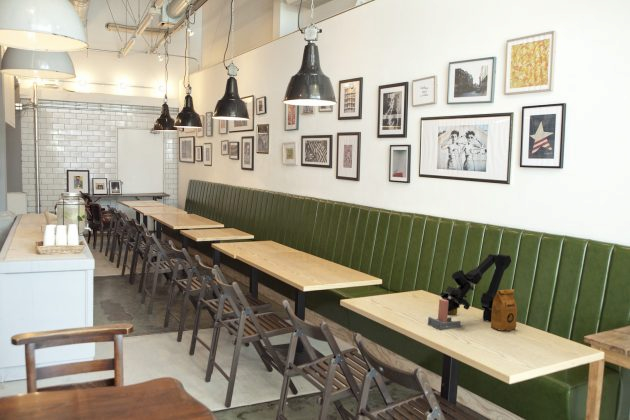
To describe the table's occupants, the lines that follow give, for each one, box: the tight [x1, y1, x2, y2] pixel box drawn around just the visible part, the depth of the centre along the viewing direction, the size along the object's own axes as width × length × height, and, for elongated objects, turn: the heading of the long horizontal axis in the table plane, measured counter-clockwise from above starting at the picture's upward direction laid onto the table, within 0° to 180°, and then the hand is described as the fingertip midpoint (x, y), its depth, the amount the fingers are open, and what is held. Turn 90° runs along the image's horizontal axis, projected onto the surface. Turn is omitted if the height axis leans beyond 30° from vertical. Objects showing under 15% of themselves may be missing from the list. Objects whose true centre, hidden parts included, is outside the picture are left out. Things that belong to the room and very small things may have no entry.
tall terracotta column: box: [437, 298, 449, 323], centre depth 289 cm, size 3×5×13 cm, turn 28°
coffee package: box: [490, 289, 518, 331], centre depth 290 cm, size 10×12×22 cm
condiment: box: [447, 293, 461, 318], centre depth 315 cm, size 7×8×12 cm
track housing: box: [427, 316, 463, 331], centre depth 291 cm, size 15×10×4 cm
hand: (445, 311), depth 290 cm, fingers closed, pressing on tall terracotta column
